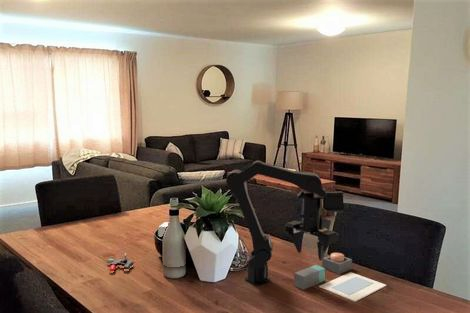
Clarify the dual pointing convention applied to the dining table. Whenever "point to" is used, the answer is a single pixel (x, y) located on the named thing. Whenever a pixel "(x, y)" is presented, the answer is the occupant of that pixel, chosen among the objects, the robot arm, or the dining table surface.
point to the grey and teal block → (309, 277)
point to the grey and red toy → (120, 263)
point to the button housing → (337, 265)
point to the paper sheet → (352, 286)
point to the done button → (337, 257)
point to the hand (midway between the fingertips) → (310, 256)
